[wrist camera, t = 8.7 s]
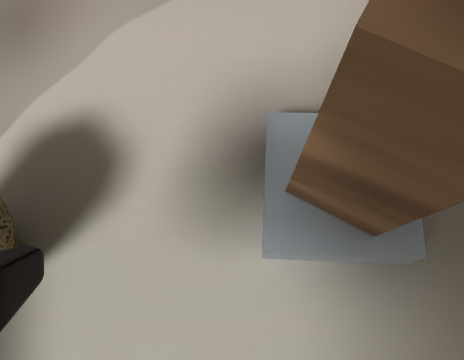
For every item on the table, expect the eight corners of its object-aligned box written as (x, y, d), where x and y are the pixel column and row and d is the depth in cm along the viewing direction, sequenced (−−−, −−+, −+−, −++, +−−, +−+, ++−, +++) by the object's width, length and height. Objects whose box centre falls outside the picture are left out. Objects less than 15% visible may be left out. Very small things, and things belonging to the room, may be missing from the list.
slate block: (405, 266, 21) (426, 258, 19) (262, 259, 22) (262, 250, 19) (393, 138, 24) (410, 114, 21) (266, 136, 25) (267, 112, 22)
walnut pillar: (374, 236, 19) (621, 137, 7) (285, 191, 20) (355, 26, 7) (411, 153, 20) (680, -64, 8) (325, 114, 21) (445, -142, 9)
